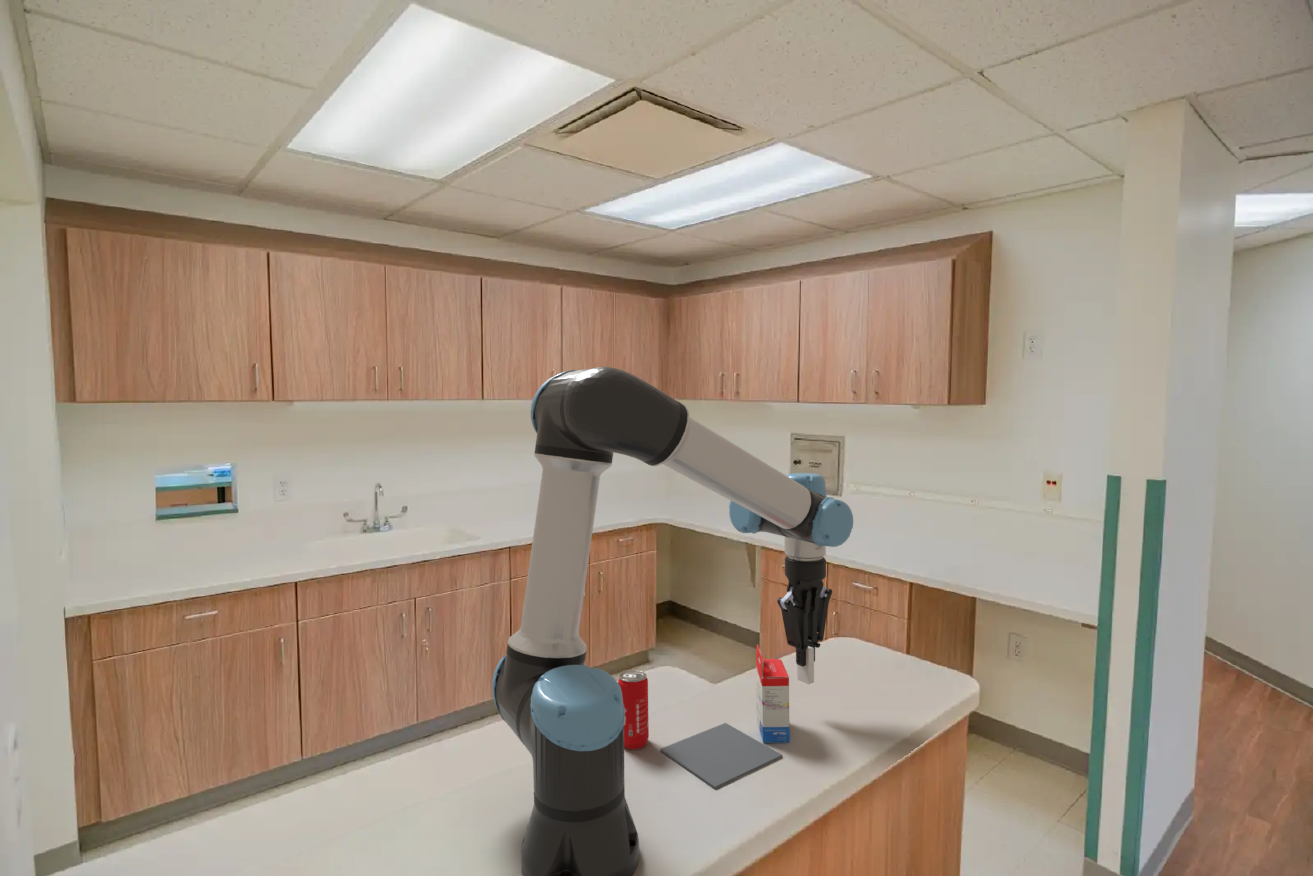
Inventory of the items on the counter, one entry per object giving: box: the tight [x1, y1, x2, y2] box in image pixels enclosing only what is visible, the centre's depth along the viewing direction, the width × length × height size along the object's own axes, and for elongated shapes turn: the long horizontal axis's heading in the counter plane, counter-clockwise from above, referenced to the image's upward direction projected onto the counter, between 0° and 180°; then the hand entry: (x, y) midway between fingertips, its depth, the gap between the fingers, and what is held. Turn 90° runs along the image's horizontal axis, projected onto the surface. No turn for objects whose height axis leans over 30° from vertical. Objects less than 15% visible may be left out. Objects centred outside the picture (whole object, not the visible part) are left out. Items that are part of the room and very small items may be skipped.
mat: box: [659, 722, 783, 790], centre depth 109 cm, size 15×14×1 cm
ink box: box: [755, 644, 791, 744], centre depth 116 cm, size 8×5×15 cm, turn 179°
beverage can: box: [617, 669, 650, 751], centre depth 113 cm, size 5×5×12 cm
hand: (805, 680), depth 121 cm, fingers closed
